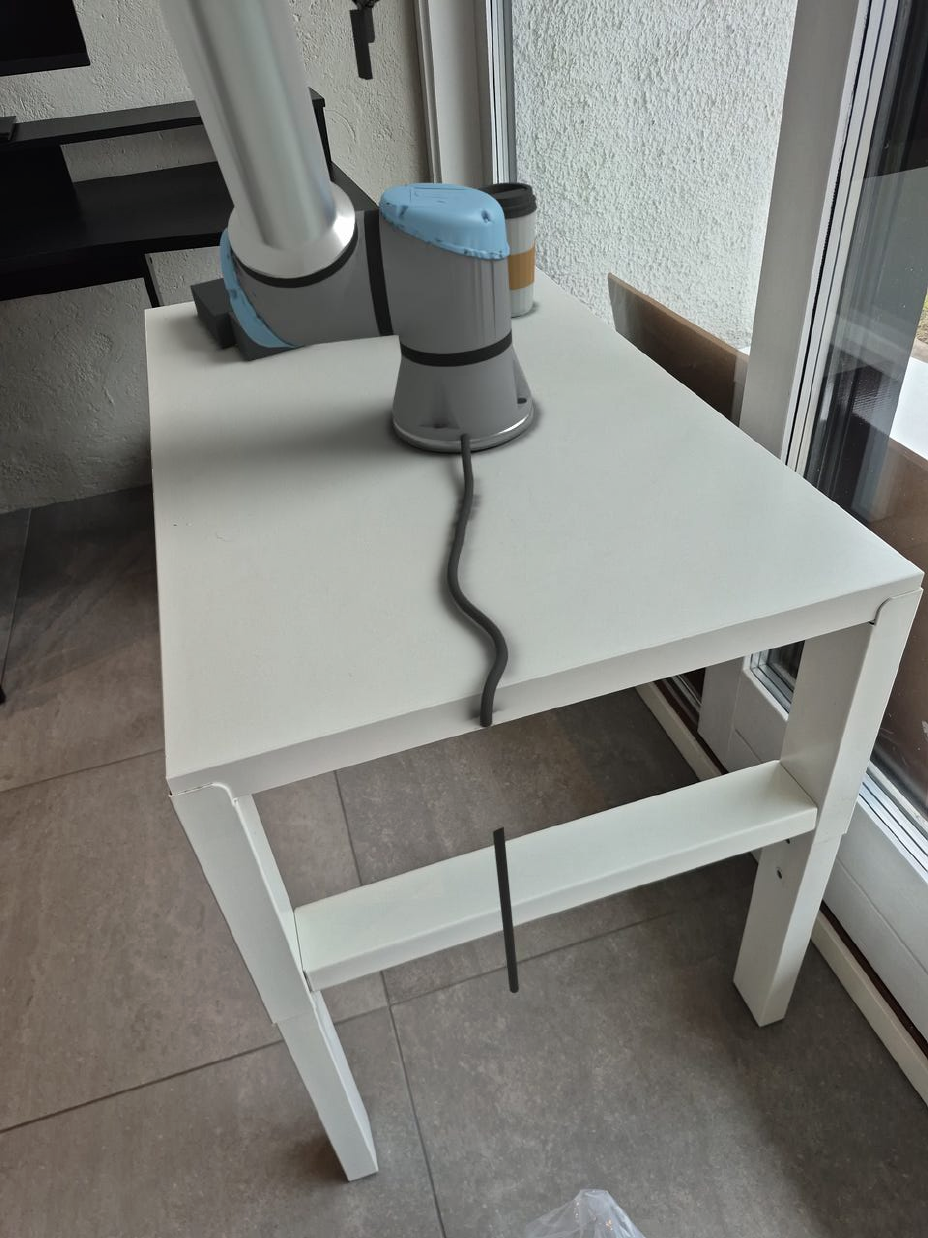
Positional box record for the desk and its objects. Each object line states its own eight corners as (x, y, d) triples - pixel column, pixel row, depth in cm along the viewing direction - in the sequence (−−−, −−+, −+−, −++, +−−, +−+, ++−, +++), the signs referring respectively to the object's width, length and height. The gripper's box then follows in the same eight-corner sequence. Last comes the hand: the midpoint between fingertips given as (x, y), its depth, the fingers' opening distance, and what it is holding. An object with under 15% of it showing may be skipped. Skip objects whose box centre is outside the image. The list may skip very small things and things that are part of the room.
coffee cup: (468, 306, 124) (458, 189, 114) (522, 292, 126) (517, 177, 117) (495, 326, 118) (487, 204, 108) (551, 311, 120) (548, 190, 111)
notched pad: (307, 326, 123) (300, 293, 121) (221, 348, 120) (212, 315, 117) (277, 296, 133) (271, 266, 131) (198, 316, 130) (189, 285, 127)
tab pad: (307, 345, 118) (300, 311, 116) (248, 360, 116) (239, 326, 113) (288, 324, 125) (281, 292, 122) (232, 339, 122) (223, 306, 119)
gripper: (371, -170, 94) (398, 66, 108) (132, -147, 87) (193, 103, 100) (399, -176, 89) (424, 73, 102) (146, -152, 82) (208, 112, 95)
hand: (309, 88), depth 101 cm, fingers open, 13 cm apart
